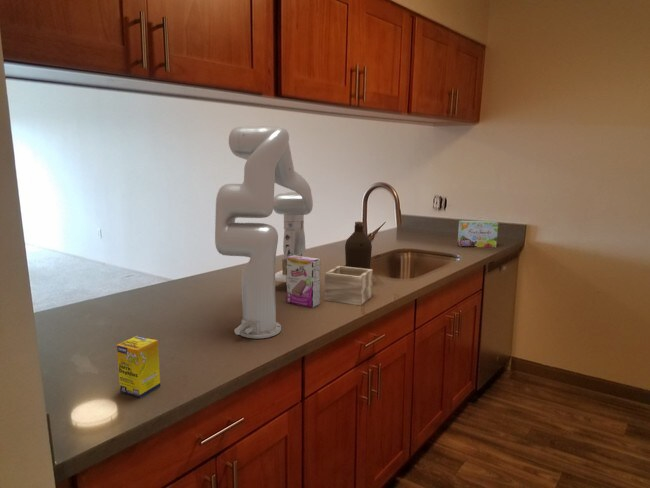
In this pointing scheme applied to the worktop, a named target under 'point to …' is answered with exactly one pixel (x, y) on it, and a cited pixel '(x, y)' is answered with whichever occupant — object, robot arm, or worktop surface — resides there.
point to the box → (348, 285)
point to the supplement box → (138, 366)
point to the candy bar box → (303, 281)
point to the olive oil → (358, 249)
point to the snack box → (477, 233)
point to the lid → (281, 272)
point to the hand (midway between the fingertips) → (294, 271)
